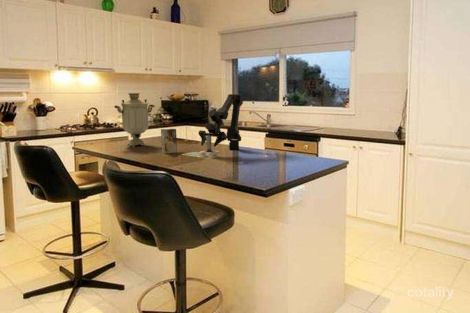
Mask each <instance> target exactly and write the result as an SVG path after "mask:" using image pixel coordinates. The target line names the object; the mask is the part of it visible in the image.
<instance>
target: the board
mask: <svg viewBox="0 0 470 313" xmlns="http://www.w3.org/2000/svg"><path fill="white" fill-rule="evenodd" d="M181 155H183V156H189V157H195V158H196V157H197V158H201V159H203V158H204V159H216V158H219V157H222V155H220V151H219V150H214V149H212V152H207V149H206V150H202V151H199V152H197V151H191V152H187V153H182V154H181Z"/></svg>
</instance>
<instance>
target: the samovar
mask: <svg viewBox="0 0 470 313" xmlns="http://www.w3.org/2000/svg"><path fill="white" fill-rule="evenodd" d="M127 94H128V95H129V98H130V99H129V100H127V101H125V99H122V100H121V102H120V104H121V106H120V105H114V106H113V107H114V108H115V109H116V110H117V112H118V113H119V114H121V121H122V129H123V130H124V132H126V133H128V134H130V135H131V138H132V139H131V140H129V142H128V143H127V145H128V146H129V145H131V148H135V146H137V145H143V146H146V147H147V145H146V144H145V143H144V141H143V140H142V139H141V136H142V134H144V133H145V132H146V131H147V130H148V129H149V126H150V125H149V124H150V123H149V113H152V111H153V108H155V107H156V106H155V105H154V104H149V103H148V102H147V101H148V100H147V99H146V98H145V99H144V101H142V100H140V99H139V98H140V94H141V93H140V92H130V93H127ZM121 107H122V108H121ZM127 145H126V146H127Z"/></svg>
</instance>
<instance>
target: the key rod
mask: <svg viewBox="0 0 470 313" xmlns="http://www.w3.org/2000/svg"><path fill="white" fill-rule="evenodd" d="M205 144H206V150H207V152H212V150H213V149H212V145H213V144H212V136H210V135H208V136H206V141H205Z"/></svg>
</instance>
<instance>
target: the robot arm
mask: <svg viewBox="0 0 470 313" xmlns="http://www.w3.org/2000/svg"><path fill="white" fill-rule="evenodd" d="M244 99H245V97H244V95H243V94H242V93H229V94H228V95H227V97H226V100H225V101H224V103H223V104H222V106H221V107H220V108H218V109H217V108H212V109H210V110H209V111H208V112H207V116H208V117H209V119H210V120H211V122H213V123H210V122H209V123H208V122H206V124H205V127H204V128H205V129H207V132H206V130H199V131H198V133H197V134H198V136H199V137H200V141H201V142H200V144H201V145H200V146H204V145H205V144H206V136H208V135H210V136H211V138H212V137H213V138H216V139H215V141H214V144H213V147H217V146H218V145H219V144H221V143H222V142H224V141H227V142H229V143H228V148H229V150H230V151H239V150H240V142H241V141H242V136H241V135H240V130H239V127H238V125H239V117H240V109H241V106H242V105H243V103H244V101H245V100H244ZM231 107H232V112H231V118H230V119H231V120H230V127H228V128H227V129H226V132H225V131H222V130H221V128H222V126H225V123H224V121H225V120H227V119H228V117H229V110H230V108H231Z"/></svg>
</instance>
